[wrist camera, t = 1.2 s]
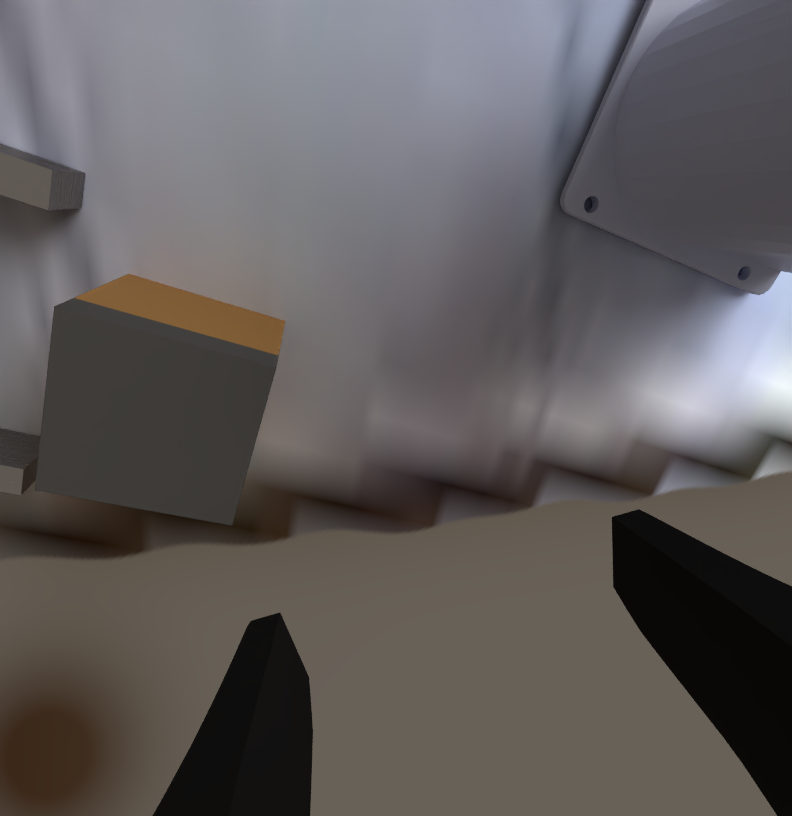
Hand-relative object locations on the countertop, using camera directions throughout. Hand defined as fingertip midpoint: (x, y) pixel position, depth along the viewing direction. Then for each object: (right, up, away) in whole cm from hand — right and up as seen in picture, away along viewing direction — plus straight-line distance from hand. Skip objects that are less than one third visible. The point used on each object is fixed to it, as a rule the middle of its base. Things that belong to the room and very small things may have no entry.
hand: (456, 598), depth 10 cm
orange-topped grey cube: (-8, +5, +7) cm, 12 cm away
